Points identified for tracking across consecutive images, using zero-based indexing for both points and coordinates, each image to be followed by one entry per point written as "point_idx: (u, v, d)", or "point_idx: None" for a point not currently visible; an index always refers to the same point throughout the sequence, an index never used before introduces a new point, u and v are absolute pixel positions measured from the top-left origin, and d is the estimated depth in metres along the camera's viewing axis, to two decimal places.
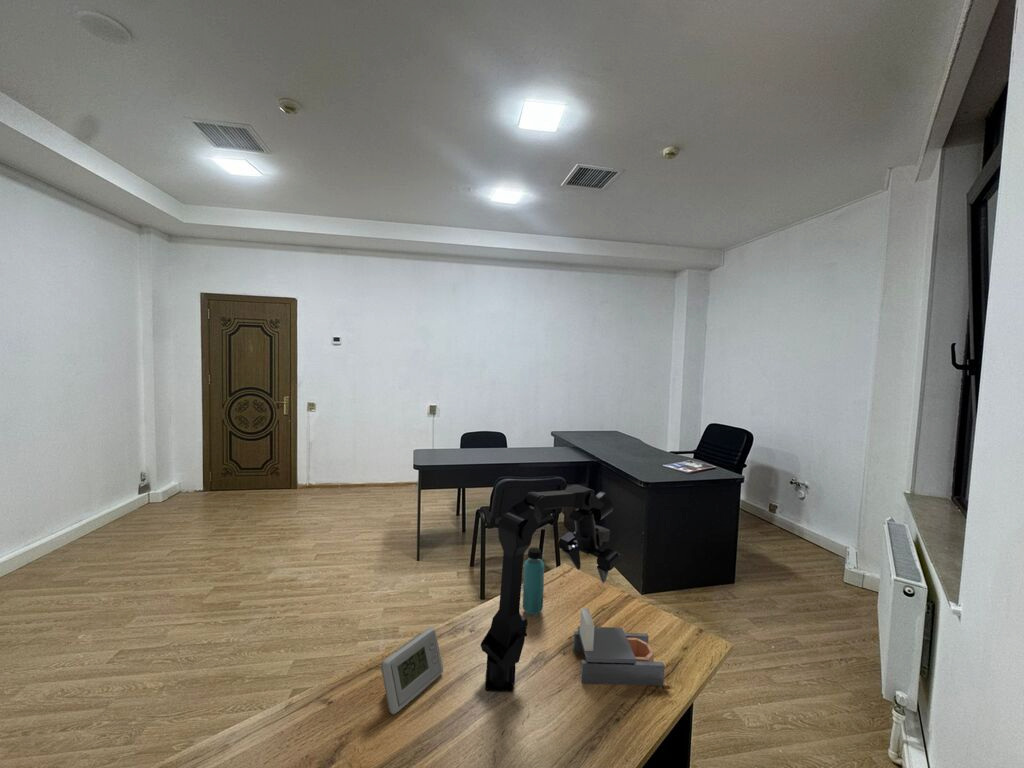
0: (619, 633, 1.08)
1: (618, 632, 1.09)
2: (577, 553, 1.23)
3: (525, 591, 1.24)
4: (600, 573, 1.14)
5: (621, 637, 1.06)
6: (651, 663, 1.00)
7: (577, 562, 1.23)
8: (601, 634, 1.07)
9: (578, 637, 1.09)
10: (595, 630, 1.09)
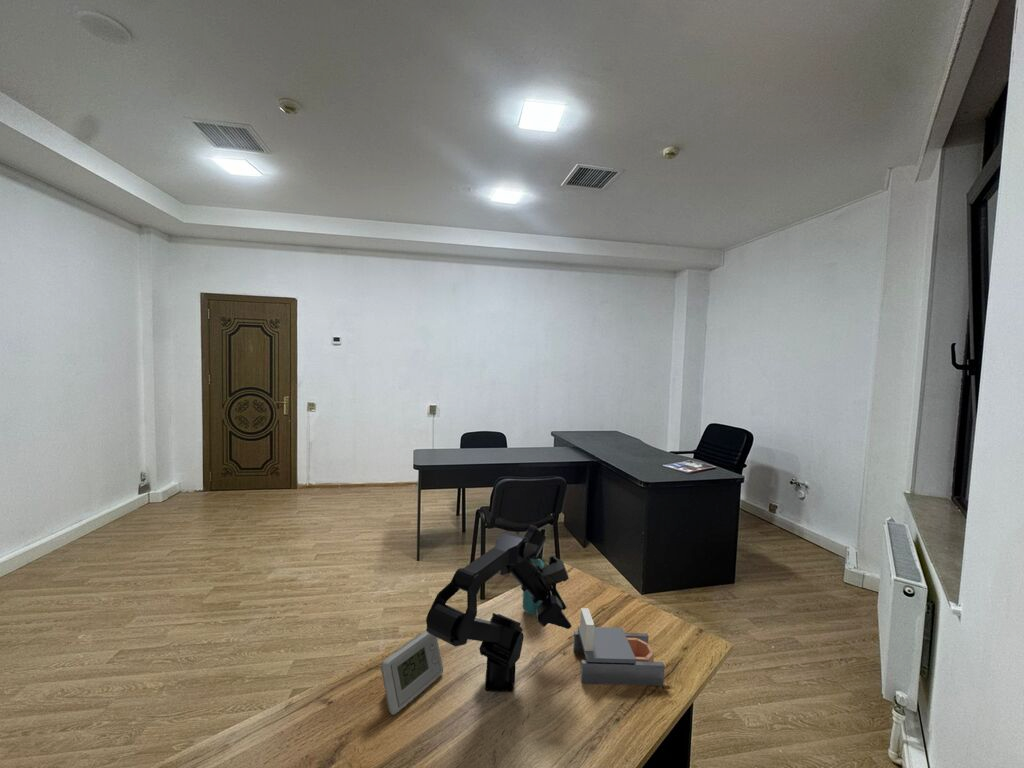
0: (619, 633, 1.08)
1: (618, 632, 1.09)
2: (554, 593, 1.08)
3: (525, 591, 1.24)
4: None
5: (621, 637, 1.06)
6: (651, 663, 1.00)
7: None
8: (601, 634, 1.07)
9: (578, 637, 1.09)
10: (595, 630, 1.09)
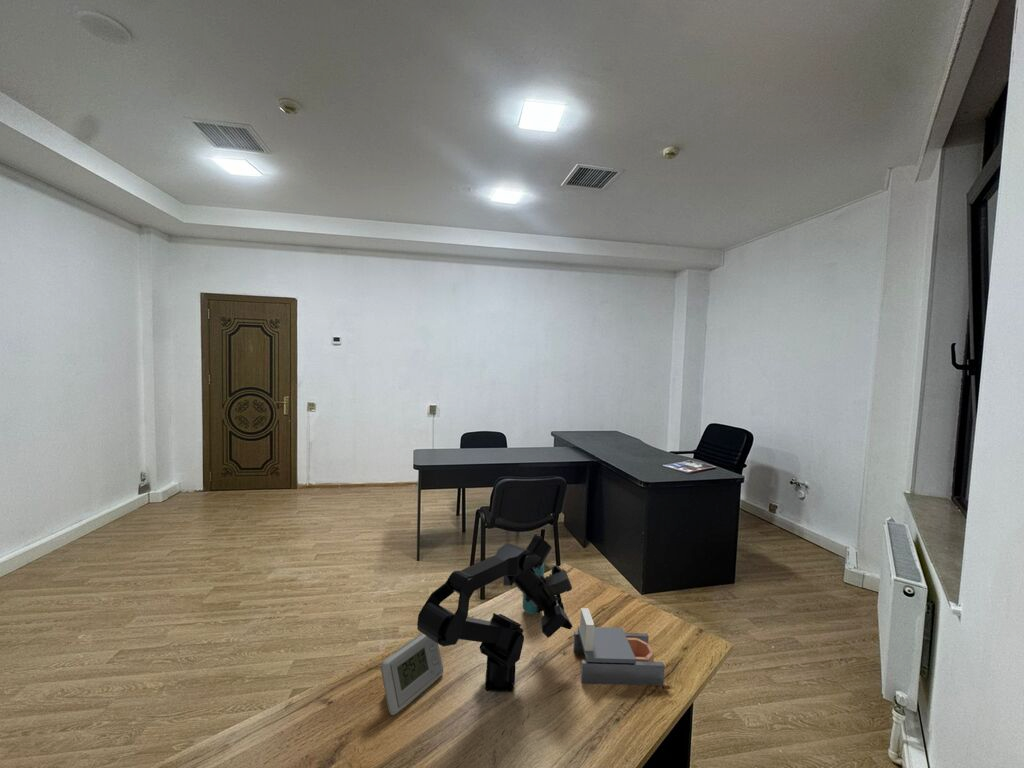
0: (619, 633, 1.08)
1: (618, 632, 1.09)
2: None
3: None
4: None
5: (621, 637, 1.06)
6: (651, 663, 1.00)
7: None
8: (601, 634, 1.07)
9: (578, 637, 1.09)
10: (595, 630, 1.09)
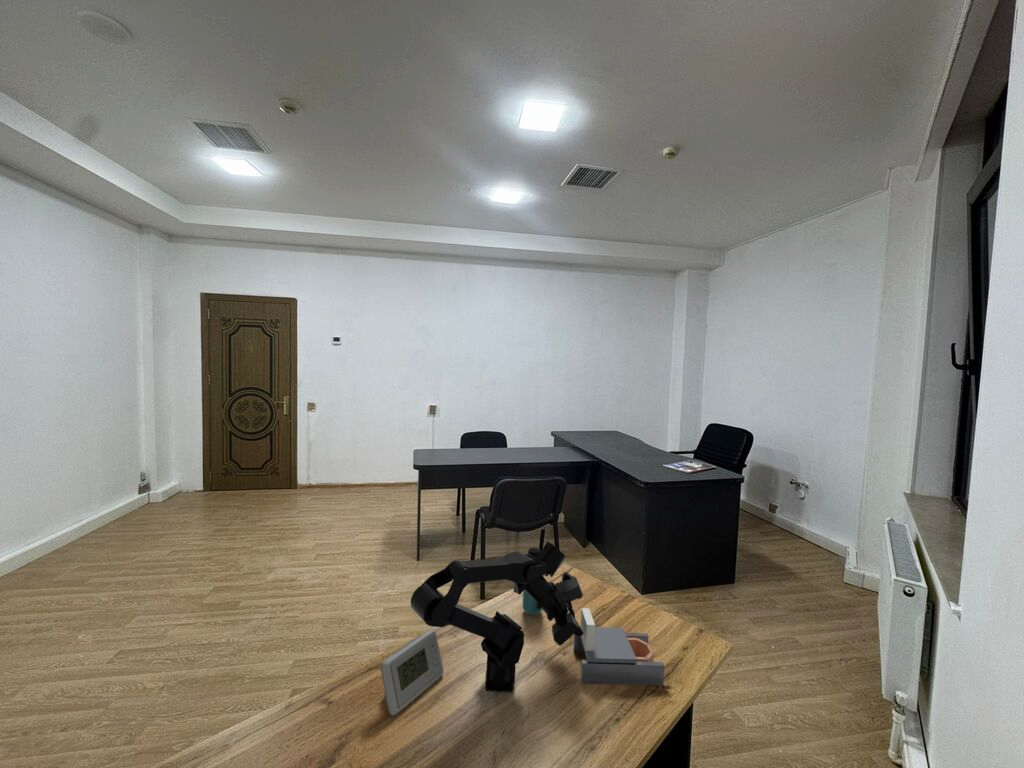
0: (619, 633, 1.08)
1: (619, 632, 1.09)
2: None
3: None
4: None
5: (621, 637, 1.06)
6: (651, 663, 1.00)
7: None
8: (602, 634, 1.07)
9: (578, 637, 1.09)
10: (596, 630, 1.09)
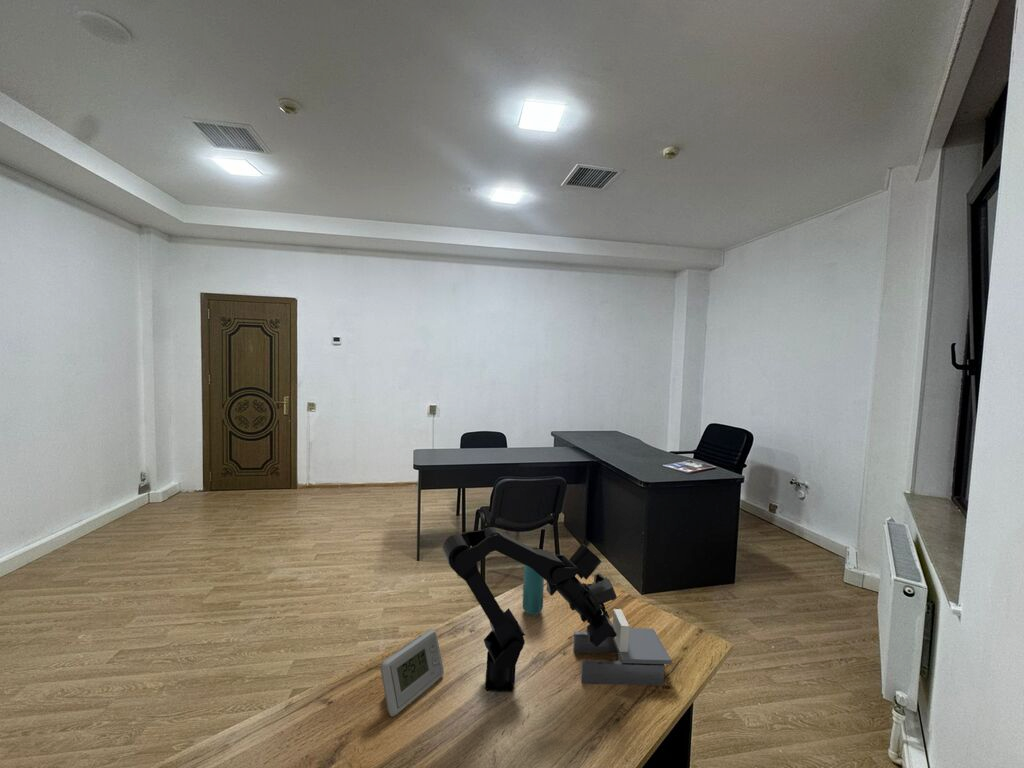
0: (651, 634, 1.08)
1: (650, 633, 1.09)
2: None
3: (525, 591, 1.24)
4: None
5: (654, 638, 1.07)
6: None
7: None
8: (634, 635, 1.08)
9: (578, 637, 1.09)
10: None
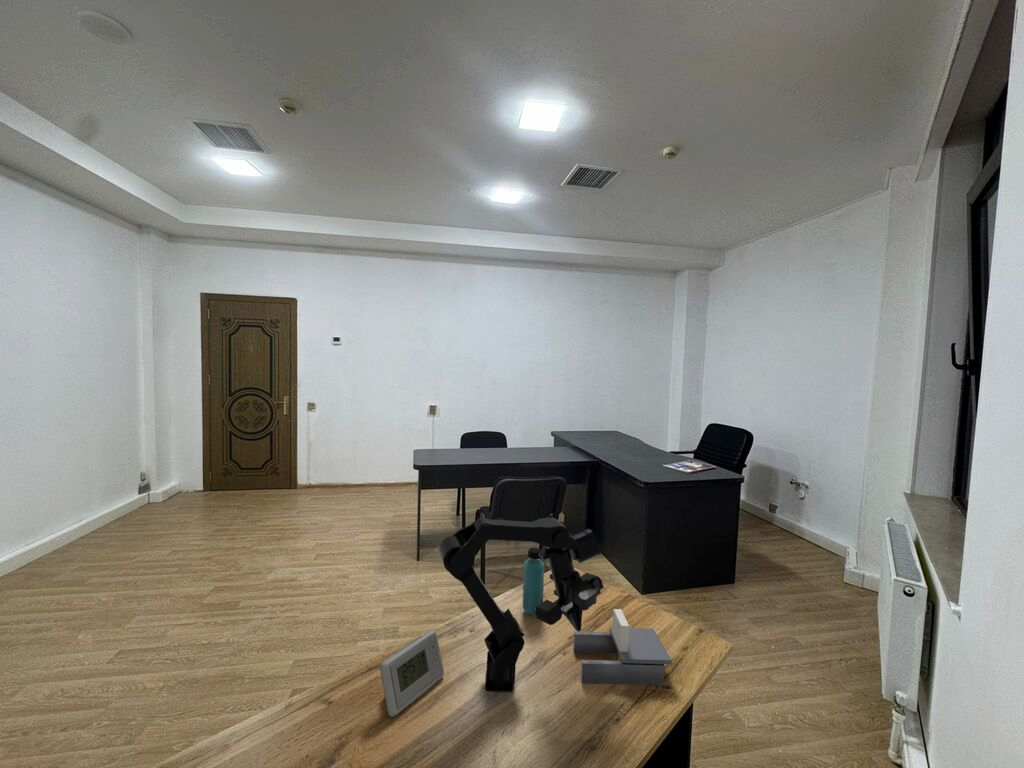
0: (651, 634, 1.08)
1: (650, 633, 1.09)
2: (576, 610, 1.01)
3: (525, 591, 1.24)
4: None
5: (654, 638, 1.07)
6: None
7: None
8: (634, 635, 1.08)
9: (578, 637, 1.09)
10: None
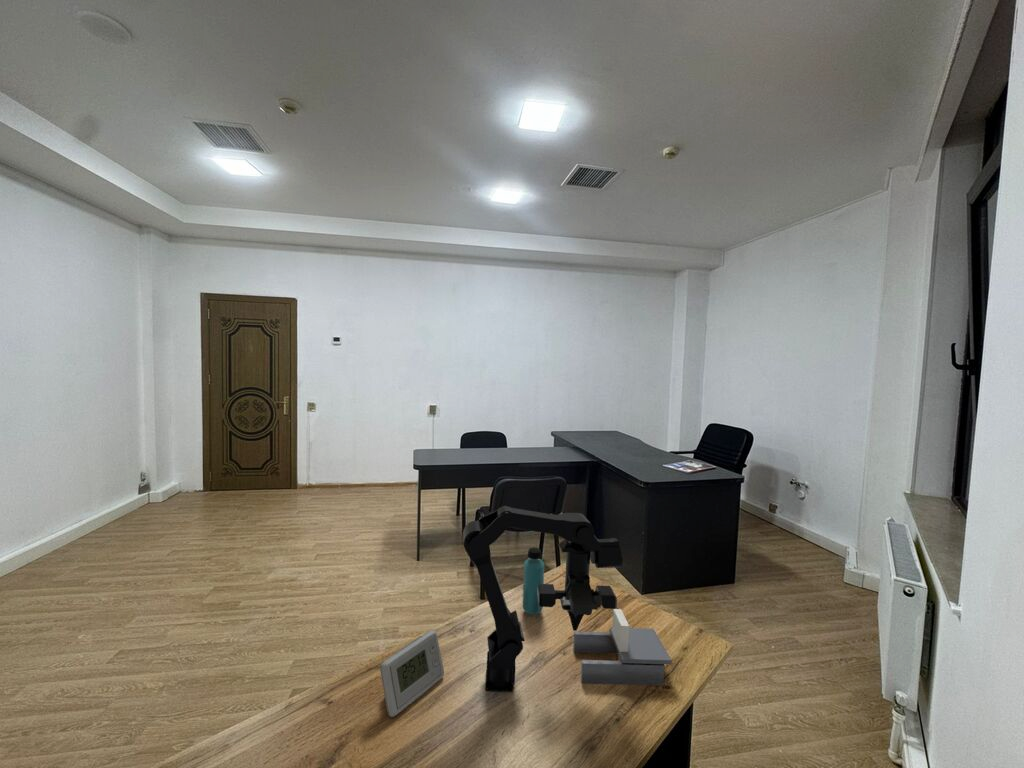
0: (651, 634, 1.08)
1: (650, 633, 1.09)
2: None
3: (525, 591, 1.24)
4: None
5: (654, 638, 1.07)
6: None
7: (575, 619, 1.00)
8: (634, 635, 1.08)
9: (578, 637, 1.09)
10: None
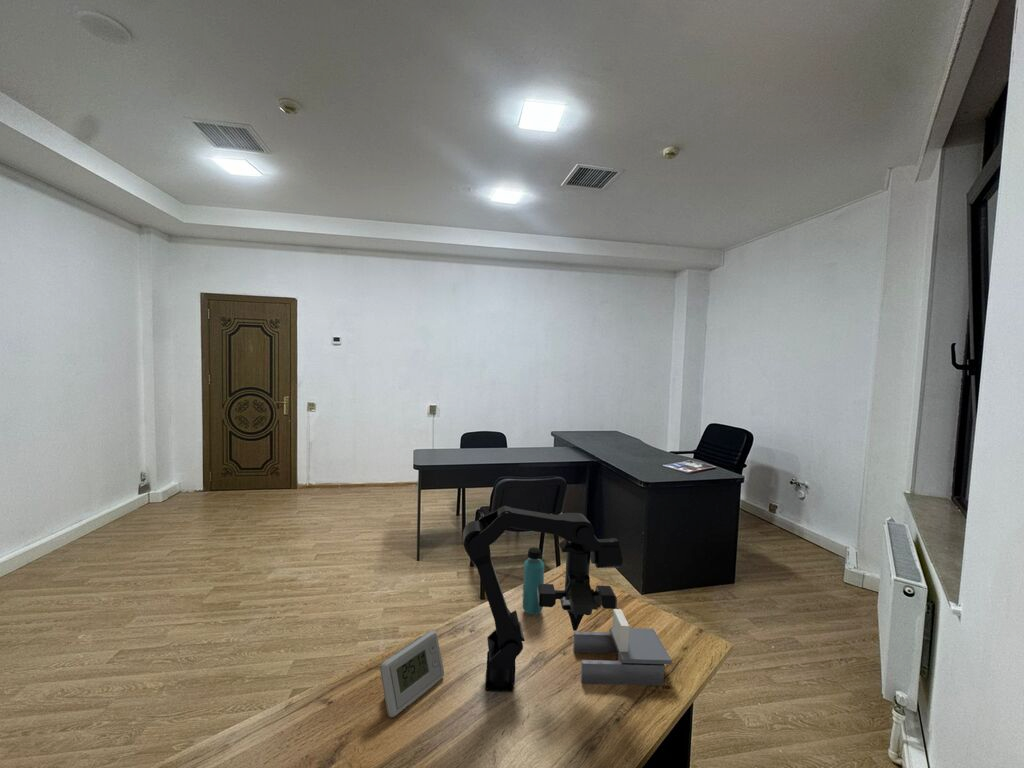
0: (651, 634, 1.08)
1: (650, 633, 1.09)
2: None
3: (525, 591, 1.24)
4: None
5: (654, 638, 1.07)
6: None
7: (575, 619, 1.00)
8: (634, 635, 1.08)
9: (578, 637, 1.09)
10: None
